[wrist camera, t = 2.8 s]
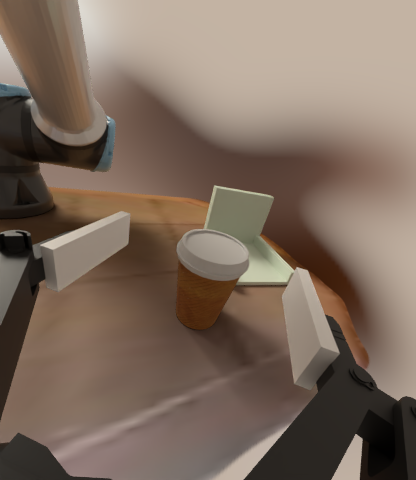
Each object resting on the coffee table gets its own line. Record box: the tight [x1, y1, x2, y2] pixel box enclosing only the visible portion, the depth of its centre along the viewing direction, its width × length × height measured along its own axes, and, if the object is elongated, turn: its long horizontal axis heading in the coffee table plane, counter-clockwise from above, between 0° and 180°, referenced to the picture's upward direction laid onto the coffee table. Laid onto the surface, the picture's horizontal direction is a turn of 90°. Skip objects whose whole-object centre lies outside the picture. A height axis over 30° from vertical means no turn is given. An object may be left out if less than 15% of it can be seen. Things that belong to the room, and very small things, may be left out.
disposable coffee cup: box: [176, 229, 249, 330], centre depth 28 cm, size 10×10×12 cm
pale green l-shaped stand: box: [204, 186, 295, 285], centre depth 45 cm, size 18×15×14 cm
